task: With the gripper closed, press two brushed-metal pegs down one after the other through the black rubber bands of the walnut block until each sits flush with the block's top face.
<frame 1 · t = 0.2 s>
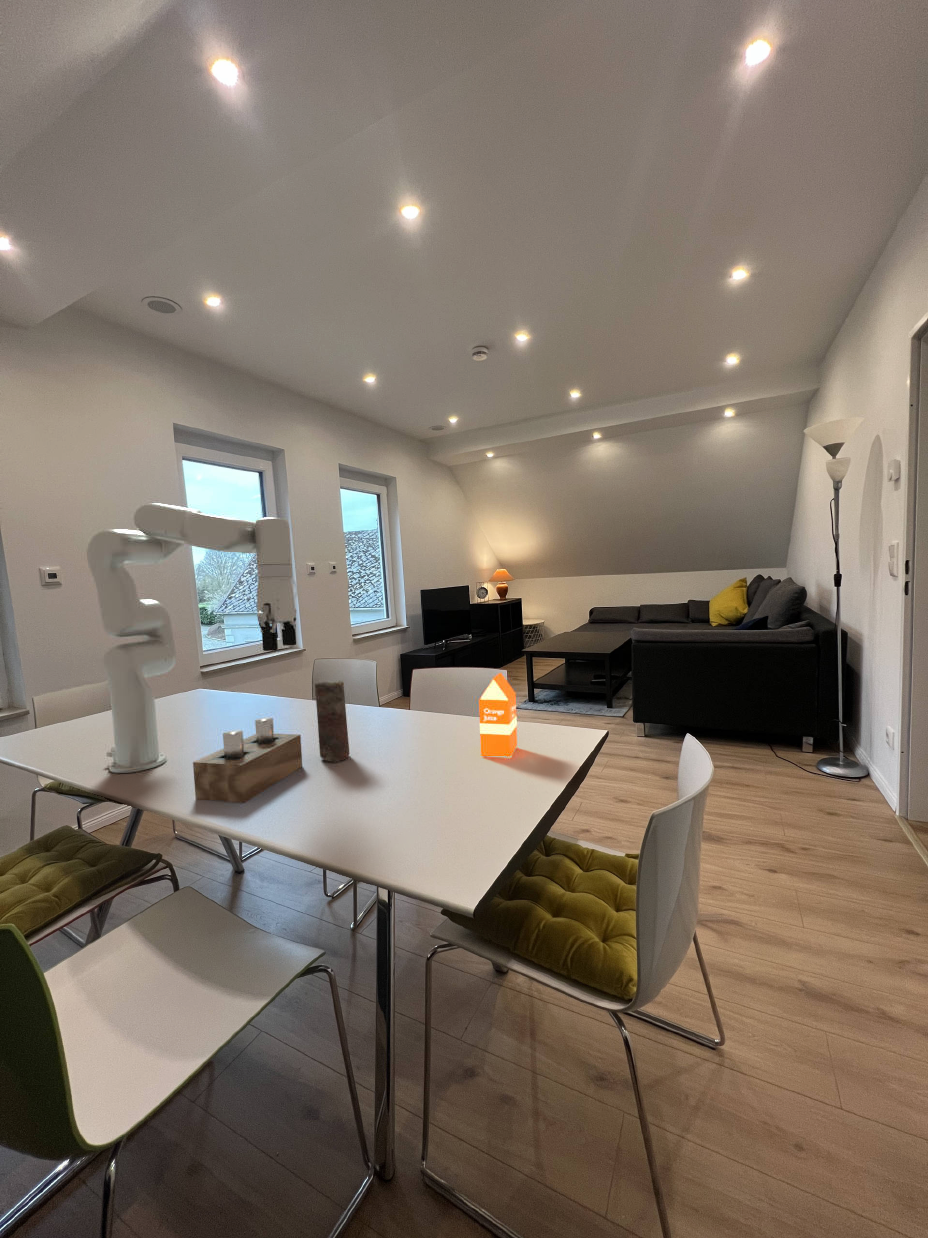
hand: (280, 647, 123), 30 cm above the table, tool pointing down, fingers open, 9 cm apart
weathered brick: (334, 759, 138), on the table
peg 2: (265, 734, 128), point 9 cm above the table, slide at 5.0 cm
orange juice: (499, 753, 137), on the table
peg 1: (233, 748, 117), point 9 cm above the table, slide at 5.0 cm
walnut block: (252, 781, 123), on the table
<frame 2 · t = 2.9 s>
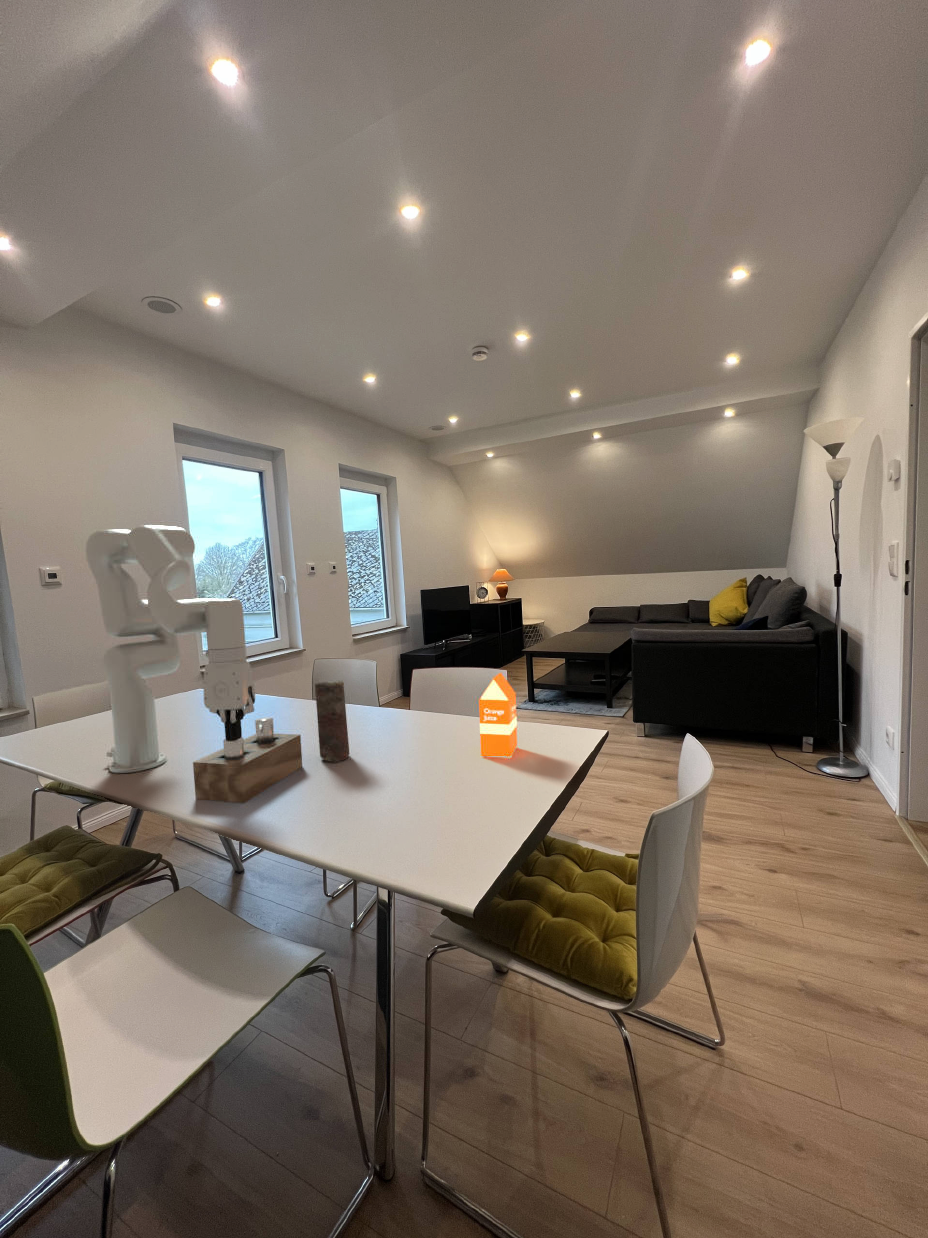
hand: (233, 739, 117), 12 cm above the table, tool pointing down, fingers closed
peg 1: (234, 754, 117), point 8 cm above the table, slide at 3.6 cm, touching gripper
everything else where it was.
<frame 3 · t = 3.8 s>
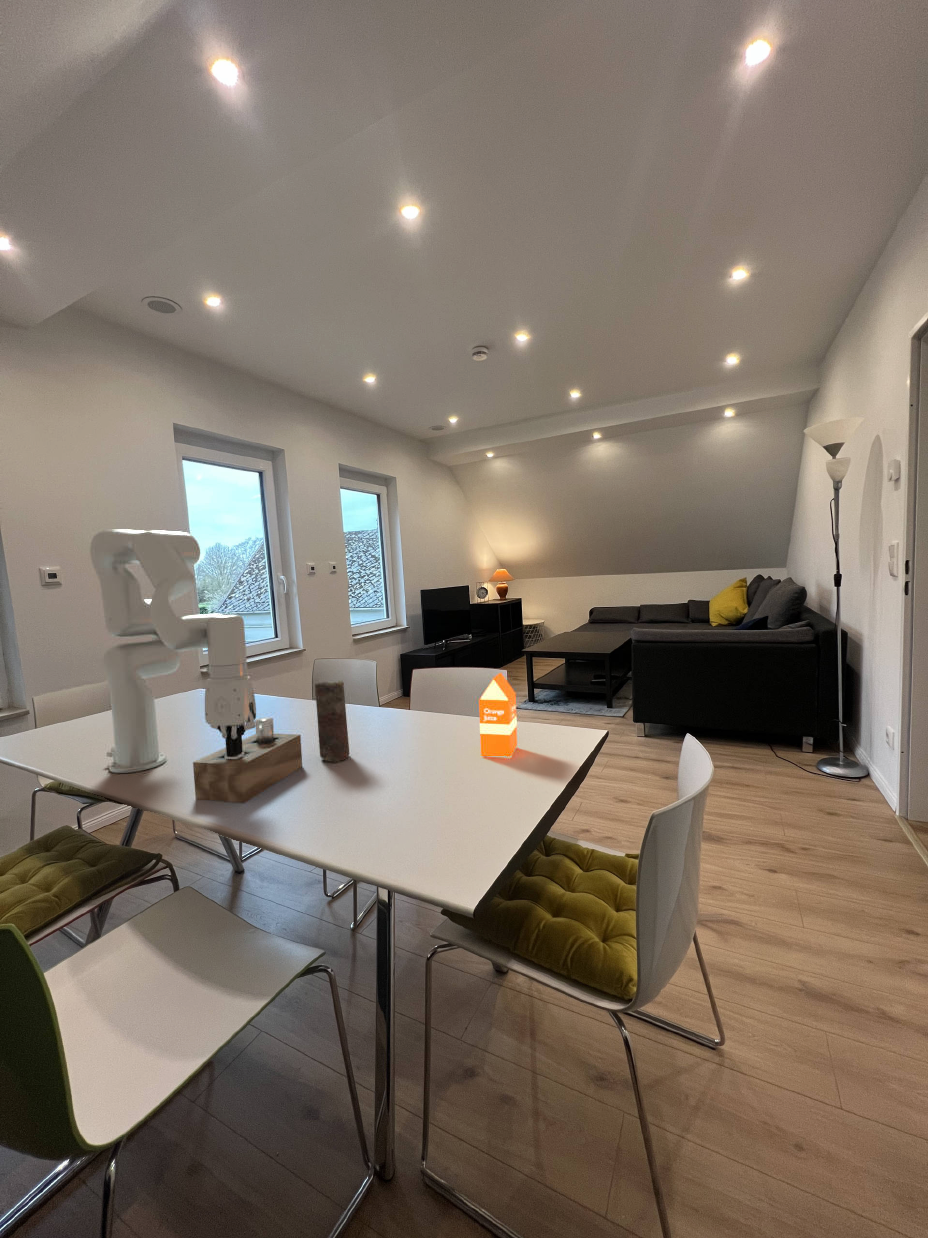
hand: (234, 754, 117), 8 cm above the table, tool pointing down, fingers closed
peg 1: (235, 770, 118), point 5 cm above the table, slide at 0.1 cm, touching gripper
everything else where it was.
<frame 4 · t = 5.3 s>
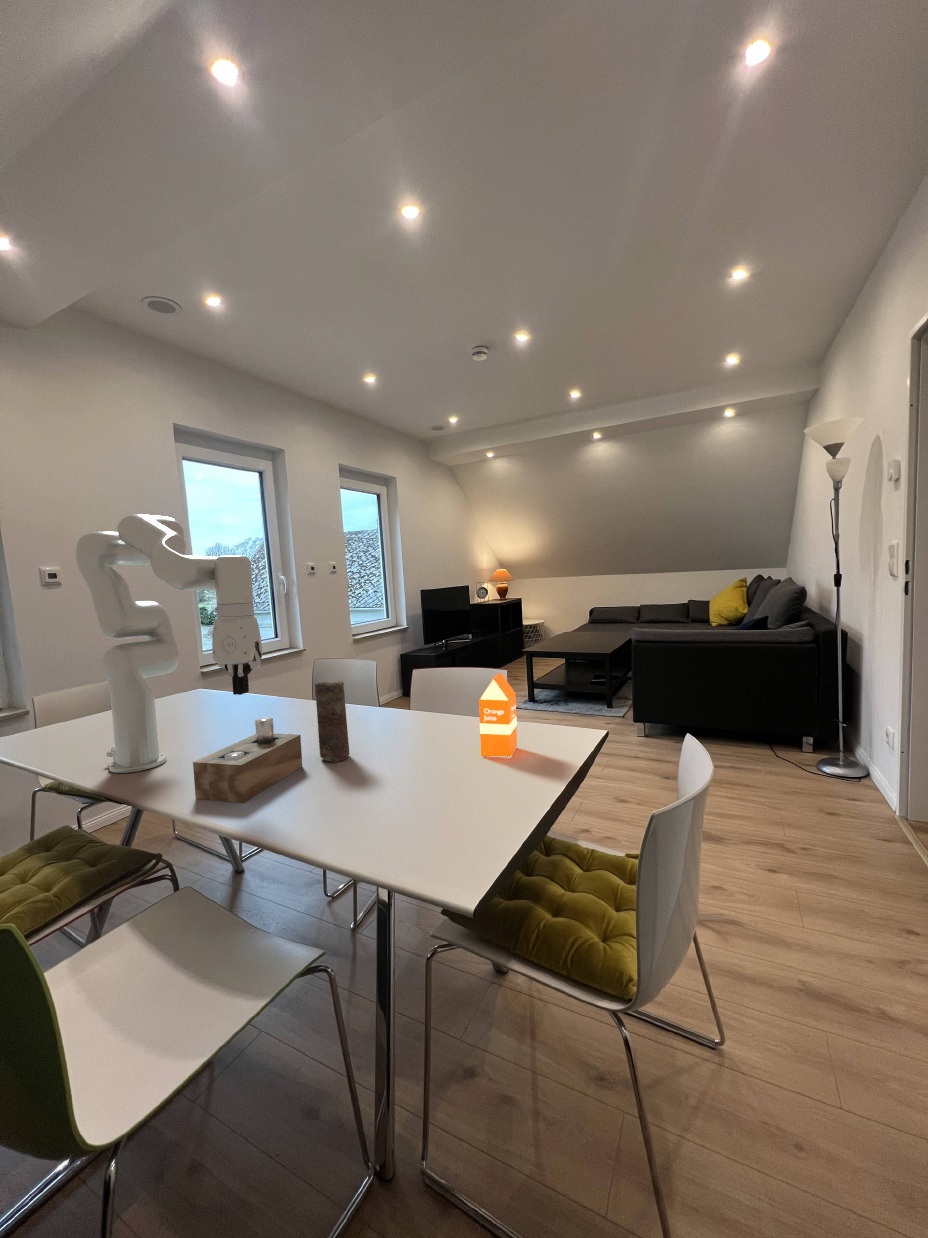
hand: (241, 693, 120), 21 cm above the table, tool pointing down, fingers closed
peg 1: (235, 770, 118), point 5 cm above the table, slide at 0.1 cm
everything else where it was.
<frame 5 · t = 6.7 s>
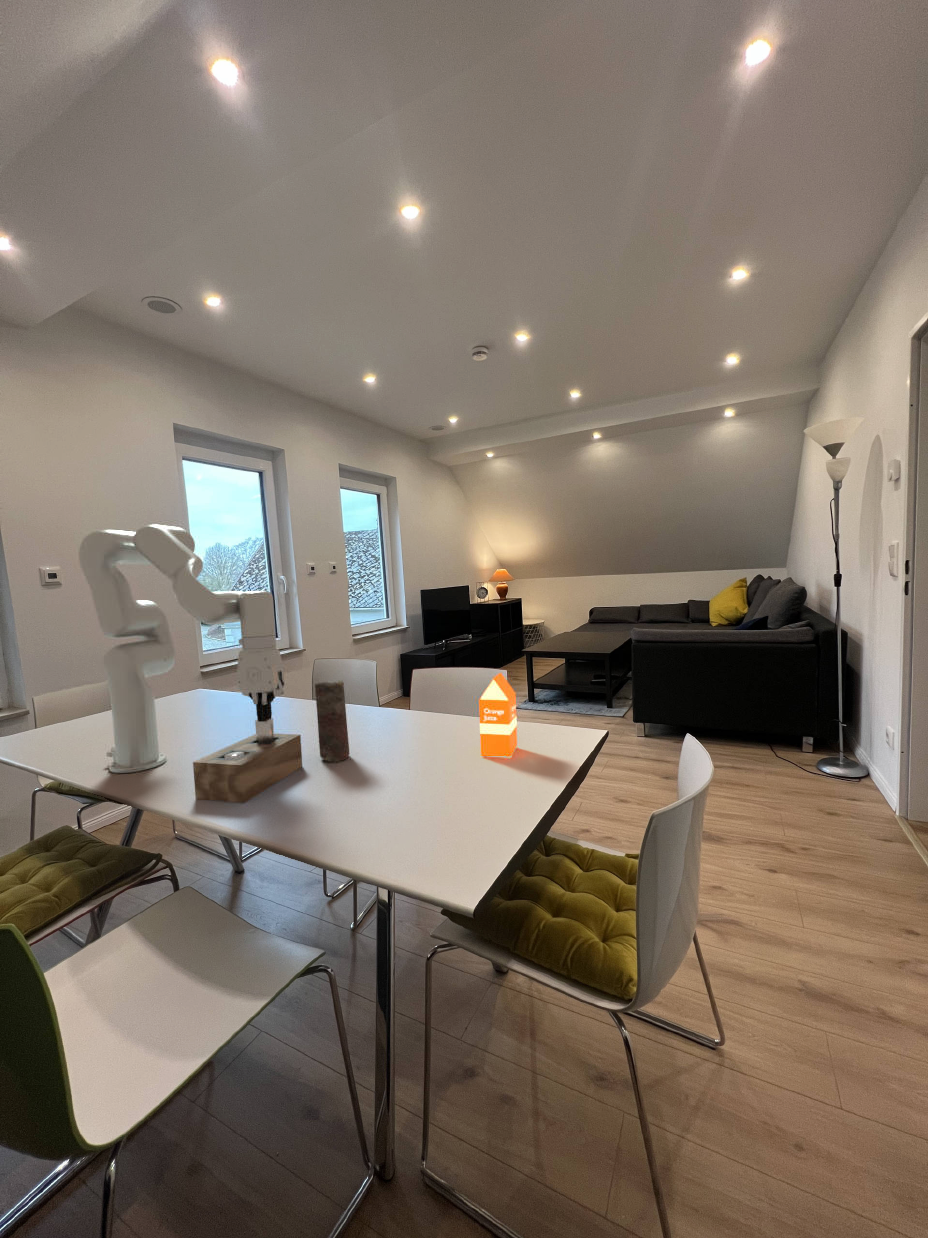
hand: (264, 719, 128), 13 cm above the table, tool pointing down, fingers closed
peg 2: (265, 734, 128), point 9 cm above the table, slide at 5.0 cm, touching gripper
everything else where it was.
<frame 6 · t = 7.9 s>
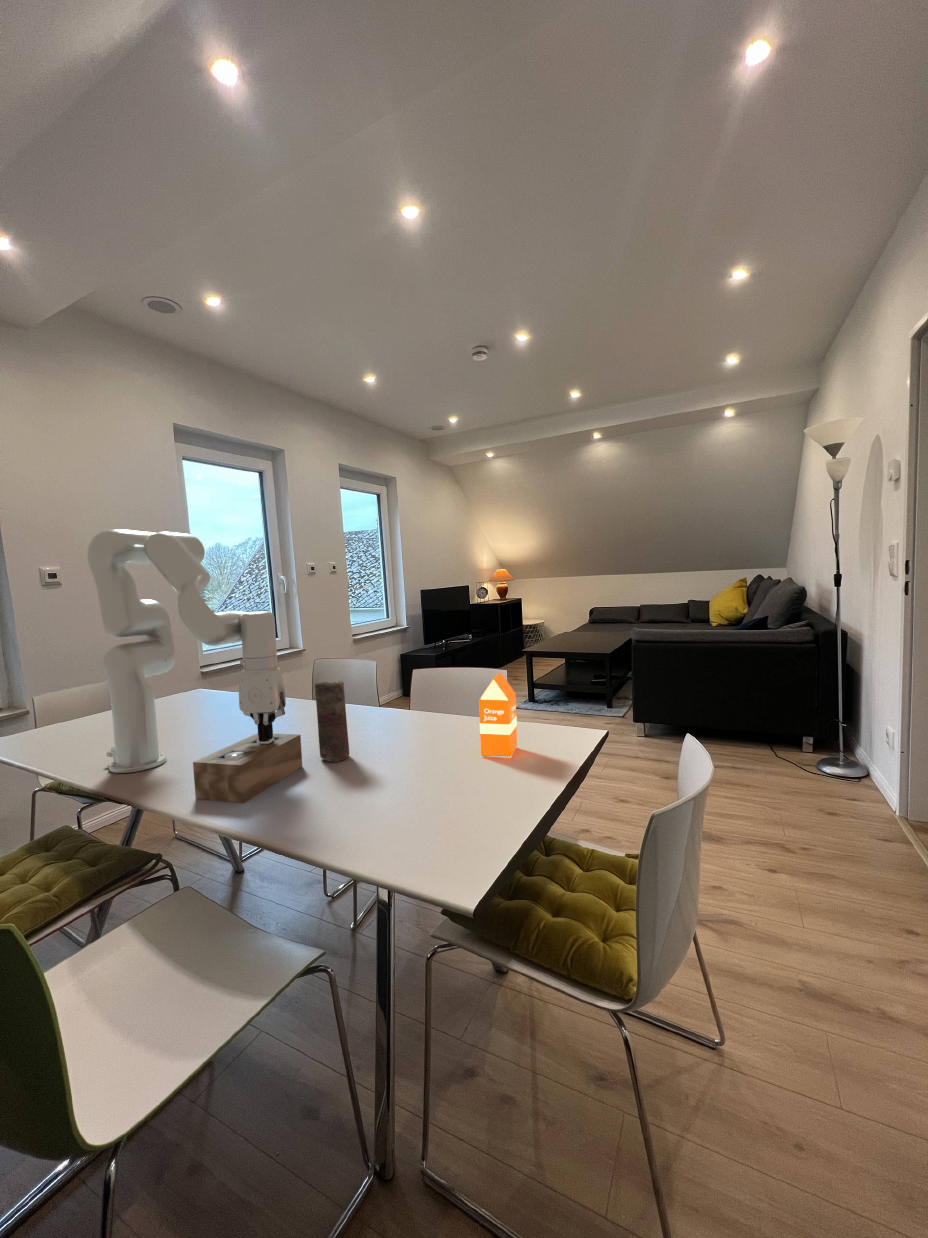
hand: (265, 739, 128), 8 cm above the table, tool pointing down, fingers closed
peg 2: (266, 754, 128), point 5 cm above the table, slide at 0.1 cm, touching gripper
everything else where it was.
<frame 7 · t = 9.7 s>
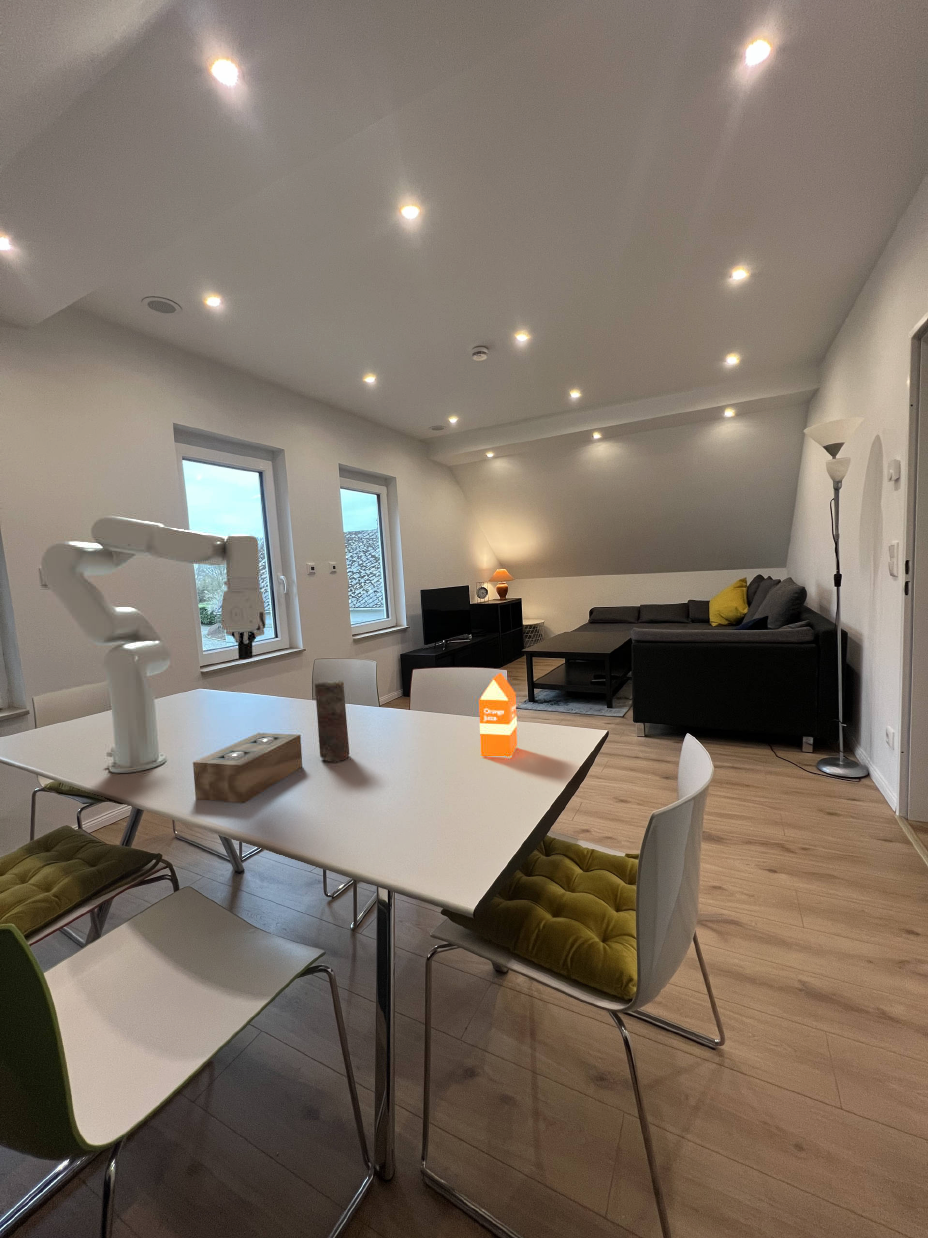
hand: (245, 658, 134), 27 cm above the table, tool pointing down, fingers closed
peg 2: (266, 754, 128), point 5 cm above the table, slide at 0.1 cm
everything else where it was.
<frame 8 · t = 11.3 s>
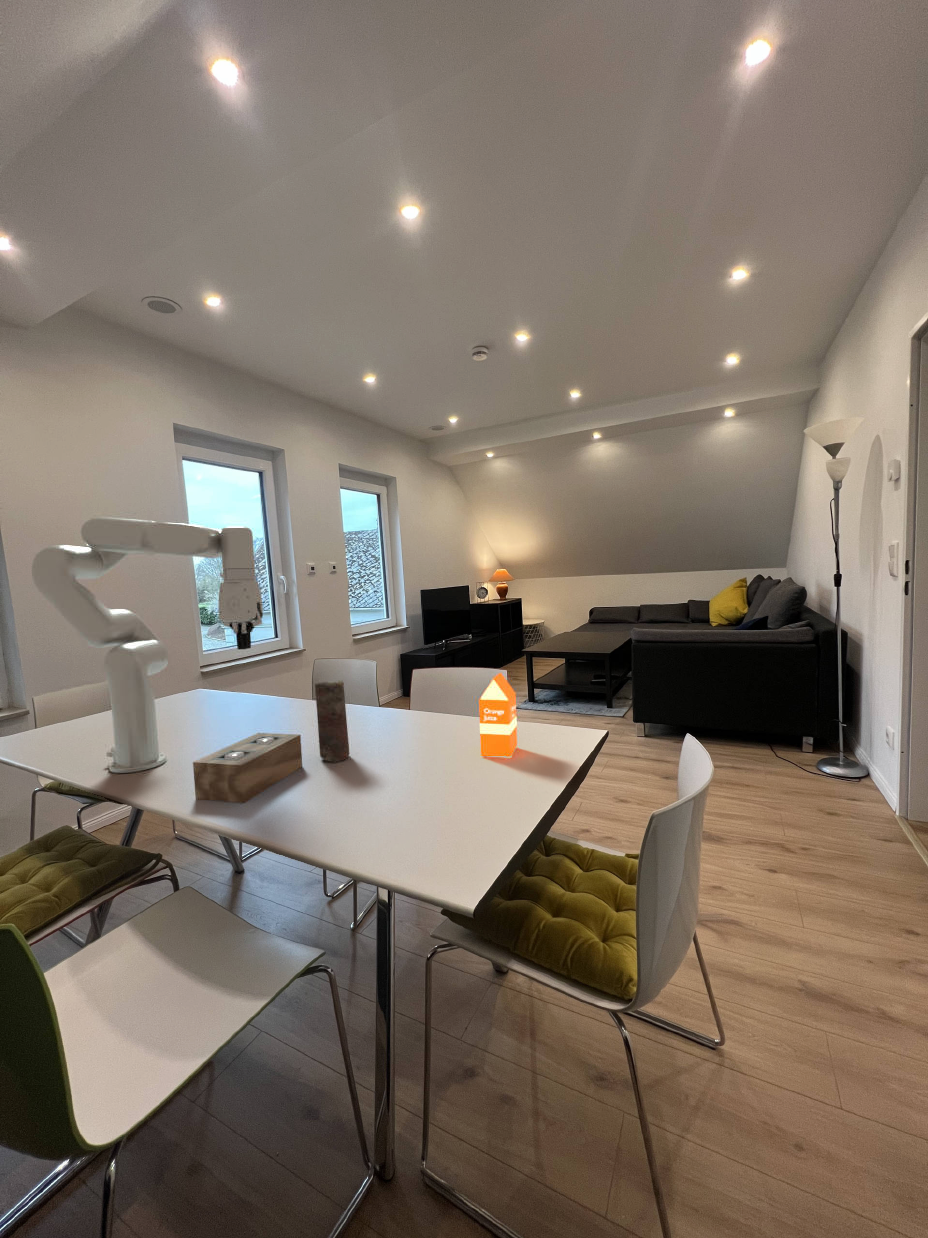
hand: (244, 648, 136), 29 cm above the table, tool pointing down, fingers closed
nothing on the table moved.
at the end: peg 1 slide at 0.1 cm; peg 2 slide at 0.1 cm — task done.
